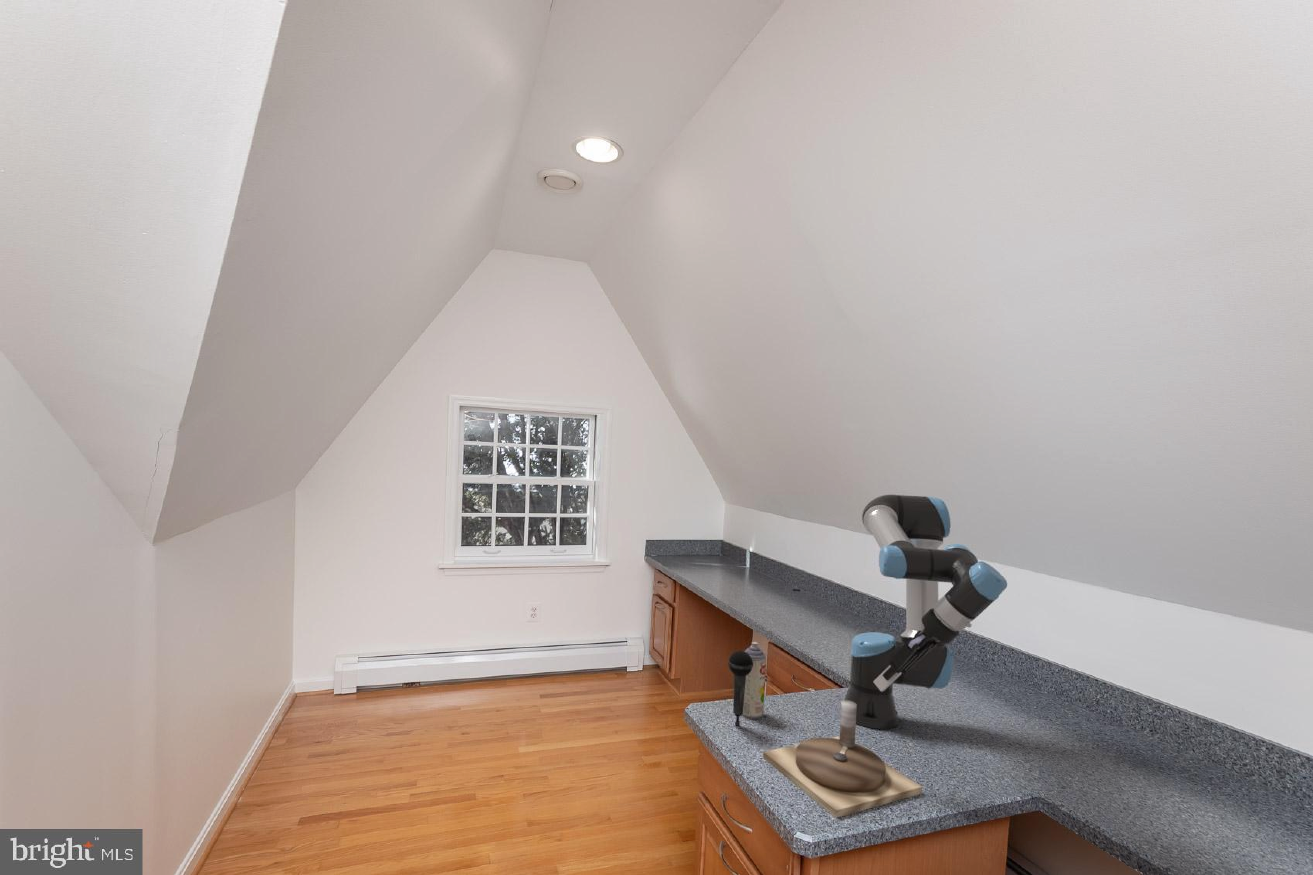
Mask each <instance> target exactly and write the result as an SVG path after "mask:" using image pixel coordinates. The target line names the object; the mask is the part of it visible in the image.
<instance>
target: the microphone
mask: <svg viewBox="0 0 1313 875" xmlns="http://www.w3.org/2000/svg"><path fill="white" fill-rule="evenodd" d="M744 651H745V650H736V651H734V652H733V653H732V654H731V655H730V656H729V659H728V661H727V663H728V664H727V665H728V668H729V670H730V671H731V673H732V674H733V705H732V707H733V710H732V711H733V712H732V713H733V714H734V716H735V717H736V718H735V719H736V720H735V721H734V725H735V726H737V727H739V726H740V725H741V722H740V717H742V716H741V715H742V714H743V706H744V694H745V683H746V675H748V674H749V673H750V672H751V670H752V667H753V661H752V658H751V657H750V655H749V654H748V653H746V652H744Z"/></svg>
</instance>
